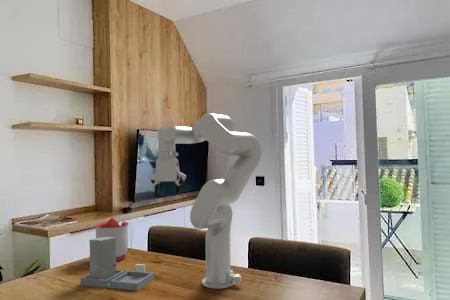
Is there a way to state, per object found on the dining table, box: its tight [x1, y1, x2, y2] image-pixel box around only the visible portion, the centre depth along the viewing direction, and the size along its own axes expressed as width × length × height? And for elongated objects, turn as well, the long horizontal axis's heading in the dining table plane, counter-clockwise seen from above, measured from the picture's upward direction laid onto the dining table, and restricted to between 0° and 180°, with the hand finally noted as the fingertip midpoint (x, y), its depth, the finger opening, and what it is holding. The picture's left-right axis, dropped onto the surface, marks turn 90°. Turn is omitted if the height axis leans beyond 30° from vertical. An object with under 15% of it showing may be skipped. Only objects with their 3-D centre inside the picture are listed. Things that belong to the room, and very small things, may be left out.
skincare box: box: [89, 237, 116, 280], centre depth 141 cm, size 8×7×16 cm
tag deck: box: [79, 261, 155, 291], centre depth 139 cm, size 25×13×6 cm, turn 74°
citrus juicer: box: [94, 217, 130, 263], centre depth 171 cm, size 16×17×20 cm
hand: (167, 194), depth 156 cm, fingers open, 9 cm apart
